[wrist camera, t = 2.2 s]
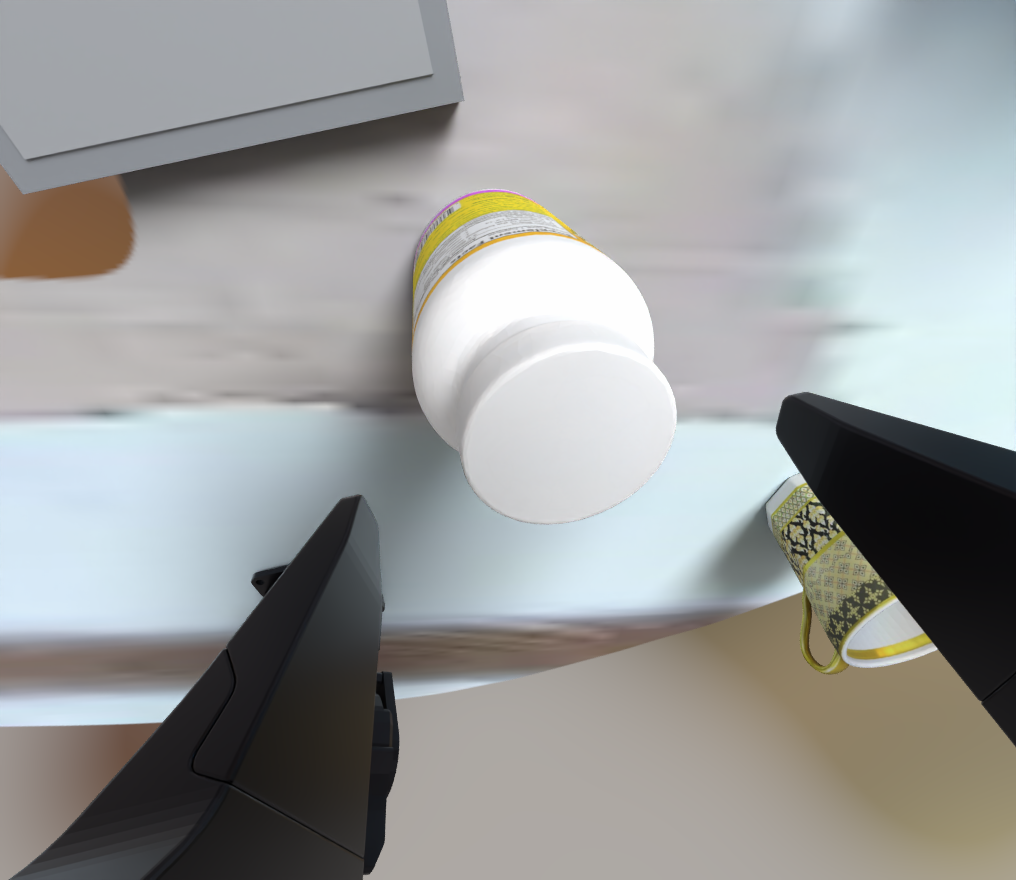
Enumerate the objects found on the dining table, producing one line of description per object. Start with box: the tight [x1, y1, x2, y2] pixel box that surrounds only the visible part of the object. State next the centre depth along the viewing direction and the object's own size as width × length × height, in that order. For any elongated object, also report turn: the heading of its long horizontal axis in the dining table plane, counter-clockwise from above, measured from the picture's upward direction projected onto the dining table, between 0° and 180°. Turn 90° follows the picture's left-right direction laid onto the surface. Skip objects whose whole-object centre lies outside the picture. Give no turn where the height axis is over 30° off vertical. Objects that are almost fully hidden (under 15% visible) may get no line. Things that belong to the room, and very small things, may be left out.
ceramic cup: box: [766, 473, 938, 674], centre depth 30 cm, size 13×10×10 cm
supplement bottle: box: [412, 189, 676, 524], centre depth 15 cm, size 7×7×13 cm
